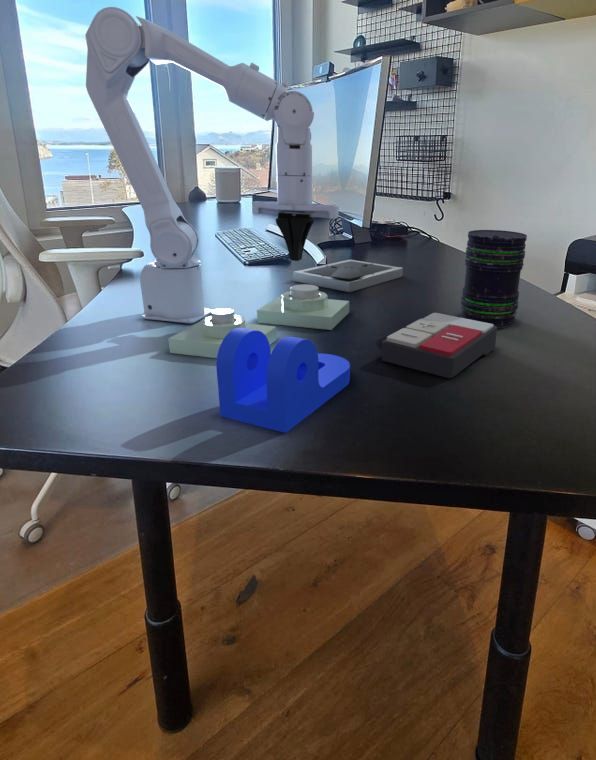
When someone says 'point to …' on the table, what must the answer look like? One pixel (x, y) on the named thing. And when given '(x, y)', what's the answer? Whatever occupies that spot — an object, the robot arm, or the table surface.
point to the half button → (222, 316)
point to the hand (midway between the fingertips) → (296, 259)
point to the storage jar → (492, 276)
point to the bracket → (275, 379)
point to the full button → (304, 291)
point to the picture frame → (347, 275)
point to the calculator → (439, 344)
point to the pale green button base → (211, 336)
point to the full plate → (304, 311)
